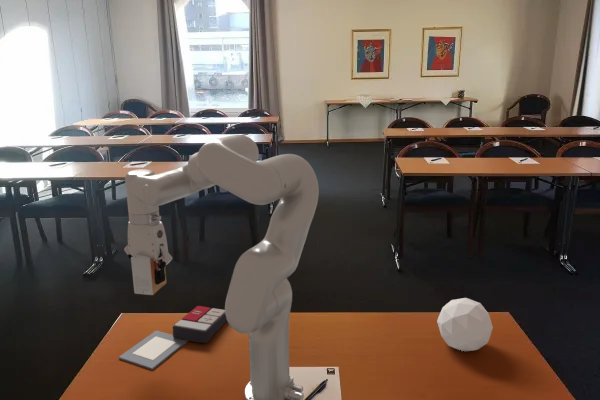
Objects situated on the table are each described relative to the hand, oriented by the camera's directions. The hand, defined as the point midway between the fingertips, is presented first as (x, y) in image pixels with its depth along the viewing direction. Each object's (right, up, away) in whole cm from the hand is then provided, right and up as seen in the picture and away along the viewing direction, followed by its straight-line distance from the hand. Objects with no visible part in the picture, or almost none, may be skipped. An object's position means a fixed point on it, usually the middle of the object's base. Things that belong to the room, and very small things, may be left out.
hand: (150, 279), depth 129 cm
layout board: (-1, -21, +6) cm, 22 cm away
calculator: (+11, -18, +17) cm, 27 cm away
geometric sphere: (+87, -21, +7) cm, 90 cm away
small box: (0, -3, +1) cm, 3 cm away
